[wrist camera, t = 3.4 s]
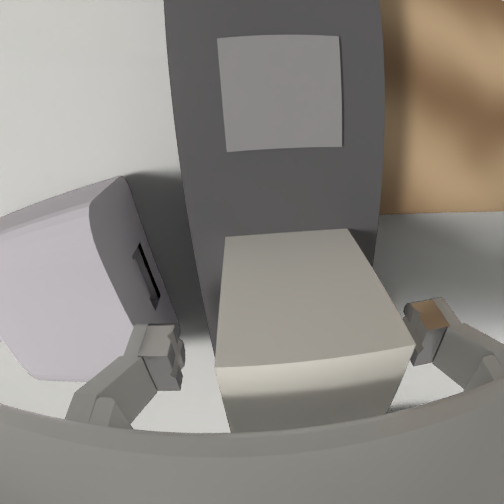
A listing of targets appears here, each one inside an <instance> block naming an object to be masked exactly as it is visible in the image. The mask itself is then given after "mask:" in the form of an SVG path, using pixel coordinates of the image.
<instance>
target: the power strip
mask: <svg viewBox="0 0 504 504" xmlns="http://www.w3.org/2000/svg"><path fill="white" fill-rule="evenodd" d="M164 14H165V29H166V42H167V54H168V66H169V76H170V86H171V96H172V105H173V114H174V122H175V131H176V139H177V146H178V154H179V161H180V168H181V176H182V182H183V189H184V196H185V202H186V209H187V215H188V221H189V227H190V233H191V239H192V245H193V250H194V256H195V262H196V267H197V273H198V278H199V283H200V288H201V294H202V299H203V304H204V309H205V314H206V318H207V323H208V328H209V333H210V338H211V342H212V347H213V351H214V356H215V355H216V341H217V328H218V316H219V303H220V292H221V280H222V269H223V258H224V247H225V237H230V236H243V235H257V234H271V233H285V232H300V231H315V230H331V229H348V230H349V232H350V233H351V235H352V237H353V238H354V240H355V241H356V243H357V244H358V246H359V247H360V249H361V251H362V252H363V254H364V255H365V257H366V259H367V260H368V262H369V263H370V265H371V267H372V266H373V259H374V252H375V244H376V236H377V228H378V219H379V209H380V199H381V187H382V173H383V155H384V129H385V76H384V51H383V35H382V22H381V12H380V2H379V0H164Z"/></svg>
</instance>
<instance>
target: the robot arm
mask: <svg viewBox="0 0 504 504" xmlns="http://www.w3.org/2000/svg"><path fill="white" fill-rule="evenodd" d="M403 312H404V314H405V315H406V316H405V317H404V318H403V319H402V320H403V322H404V323H405V325H406V327H407V329H408V331H409V333H410V334H411V336H412V338H413V340H414V342H415V344H416V345H415V348H414V351H413V353H412V356H411V358H410V360H411V362H412V365H413V366H417V365H422V364H427V363H432V362H433V363H432V364H434V365H435V366H436V367H437V368H439V369H440V370H441V371H442V372H444V373H445V374H446V375H447V376H449V377H450V378H451V379H452V380H453V381H455V382H456V383H457V384H458V385H460V386H461V387H462V388H463V389H464V391H463V392H461V393H458V394H455V395H452V396H449V397H446V398H443V399H440V400H436V401H433V402H430V403H426V404H423V405H419V406H415V407H412V408H408V409H404V410H400V411H396V412H391V413H387V414H383V415H378V416H373V417H369V418H363V419H358V420H353V421H347V422H341V423H335V424H328V425H321V426H314V427H306V428H297V429H287V430H275V431H262V432H242V433H177V432H158V431H145V430H134V429H133V428H132V426H131V425H130V424H131V423H132V421H133V420H134V419H135V418H136V417H137V416H138V414H139V413H140V412H141V411H142V410H143V409H144V407H145V406H146V405H147V404H148V403H149V401H150V400H151V399H152V398H153V397H154V396H155V394H156V393H157V391H180V390H181V383H182V377H183V375H182V372H181V369H182V368H183V367H184V364H185V348H184V344H183V341H182V340H181V339H180V338H179V335H180V330H179V327H178V324H176V323H149V324H136V325H134V327H133V330H132V332H131V335H130V338H129V341H128V344H127V346H126V349H125V352H124V355H123V356H119V357H118V358H117V359H115V360H114V361H113V362H112V363H110V364H109V365H108V366H107V367H105V368H104V369H103V370H102V371H101V372H99V373H98V374H97V375H96V376H94V377H93V378H92V379H91V380H90V381H88V382H87V383H86V384H85V385H83V386H82V387H81V388H80V389H79V390H77V391H76V392H75V393H74V396H73V398H72V401H71V403H70V406H69V409H68V411H67V414H66V417H65V419H60V418H55V417H50V416H46V415H41V414H37V413H33V412H29V411H25V410H21V409H18V408H14V407H10V406H7V405H4V404H1V403H0V504H504V344H502V343H500V342H499V341H497V340H495V339H493V338H491V337H489V336H488V335H486V334H484V333H482V332H480V331H478V330H477V329H475V328H473V327H471V326H469V325H467V324H465V323H462V324H461V322H460V321H459V319H458V318H457V316H456V315H455V314H454V312H453V311H452V310H451V308H450V307H449V305H448V304H447V303H446V301H445V300H444V299H443V298H441V297H438V298H433V299H429V300H422V301H416V302H410V303H407V304H406V305H405V307H404V311H403Z"/></svg>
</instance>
